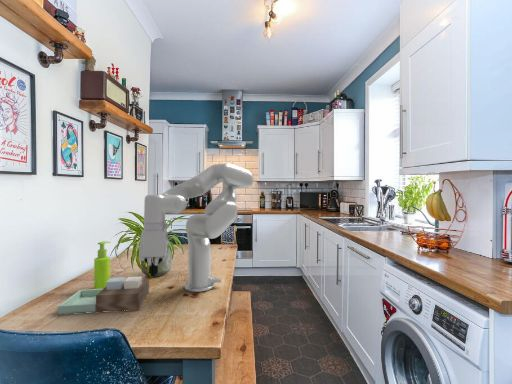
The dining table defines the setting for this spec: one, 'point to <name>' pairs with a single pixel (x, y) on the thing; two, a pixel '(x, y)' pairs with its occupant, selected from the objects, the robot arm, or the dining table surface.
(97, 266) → the soap dispenser
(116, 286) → the pale blue square block
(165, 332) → the dining table surface
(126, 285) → the cream square block
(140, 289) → the brown wooden block
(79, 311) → the box
